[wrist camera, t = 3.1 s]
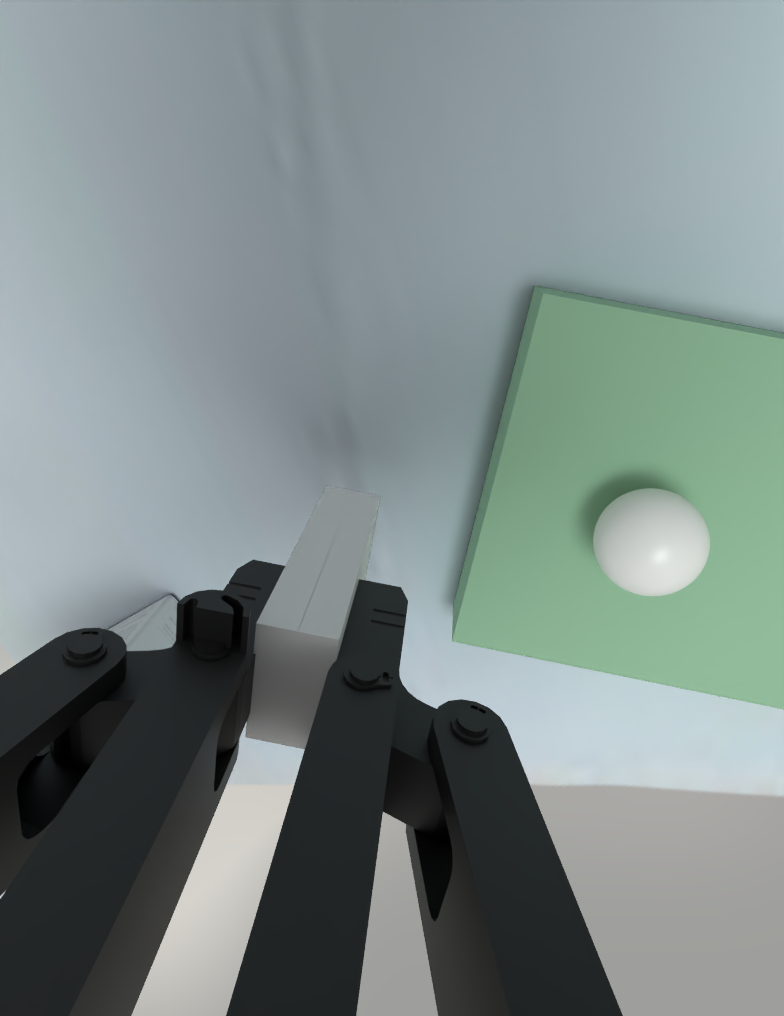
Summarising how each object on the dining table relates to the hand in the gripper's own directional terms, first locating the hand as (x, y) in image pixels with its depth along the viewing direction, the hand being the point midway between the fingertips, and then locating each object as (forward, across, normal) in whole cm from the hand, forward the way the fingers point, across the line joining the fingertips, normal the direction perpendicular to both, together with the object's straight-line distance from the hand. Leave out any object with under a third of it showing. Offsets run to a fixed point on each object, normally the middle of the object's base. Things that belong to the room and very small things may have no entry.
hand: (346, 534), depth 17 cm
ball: (+3, +9, 0) cm, 10 cm away
